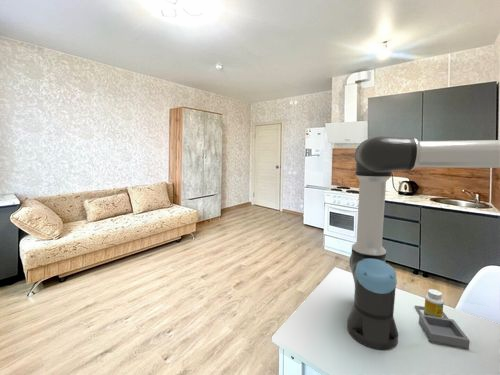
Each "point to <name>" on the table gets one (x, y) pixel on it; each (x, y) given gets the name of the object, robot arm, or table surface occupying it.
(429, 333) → the bin
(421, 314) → the socket collar
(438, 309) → the supplement bottle
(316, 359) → the table surface
